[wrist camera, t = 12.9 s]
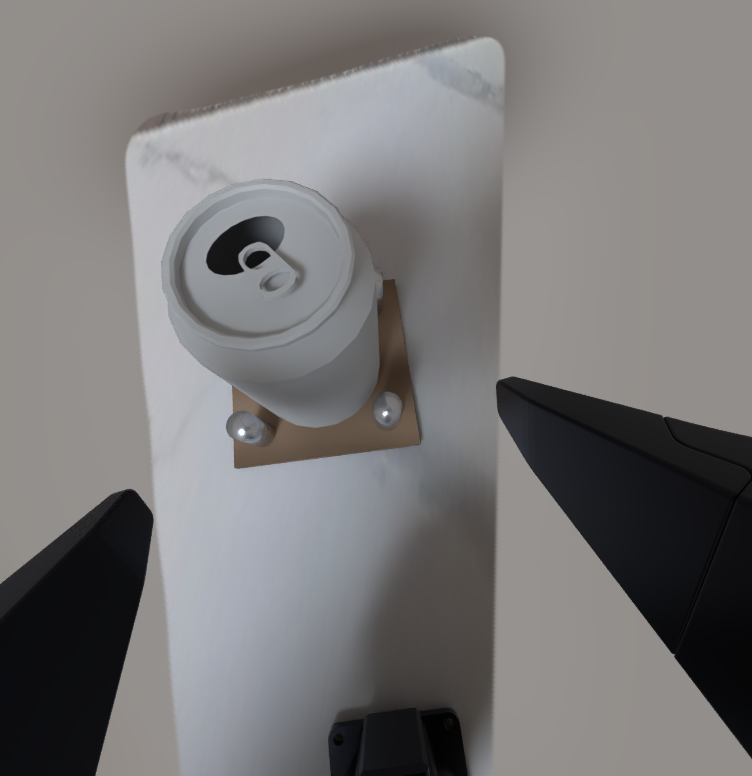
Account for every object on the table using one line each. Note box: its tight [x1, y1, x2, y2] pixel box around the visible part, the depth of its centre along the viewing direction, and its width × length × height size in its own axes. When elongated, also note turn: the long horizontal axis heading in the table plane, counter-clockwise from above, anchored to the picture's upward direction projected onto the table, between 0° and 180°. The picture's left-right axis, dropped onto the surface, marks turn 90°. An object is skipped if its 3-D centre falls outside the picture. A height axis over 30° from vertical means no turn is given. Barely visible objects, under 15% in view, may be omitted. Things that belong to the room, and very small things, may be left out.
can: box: [161, 179, 380, 428], centre depth 17 cm, size 8×8×12 cm
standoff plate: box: [226, 266, 420, 469], centre depth 22 cm, size 11×11×4 cm
